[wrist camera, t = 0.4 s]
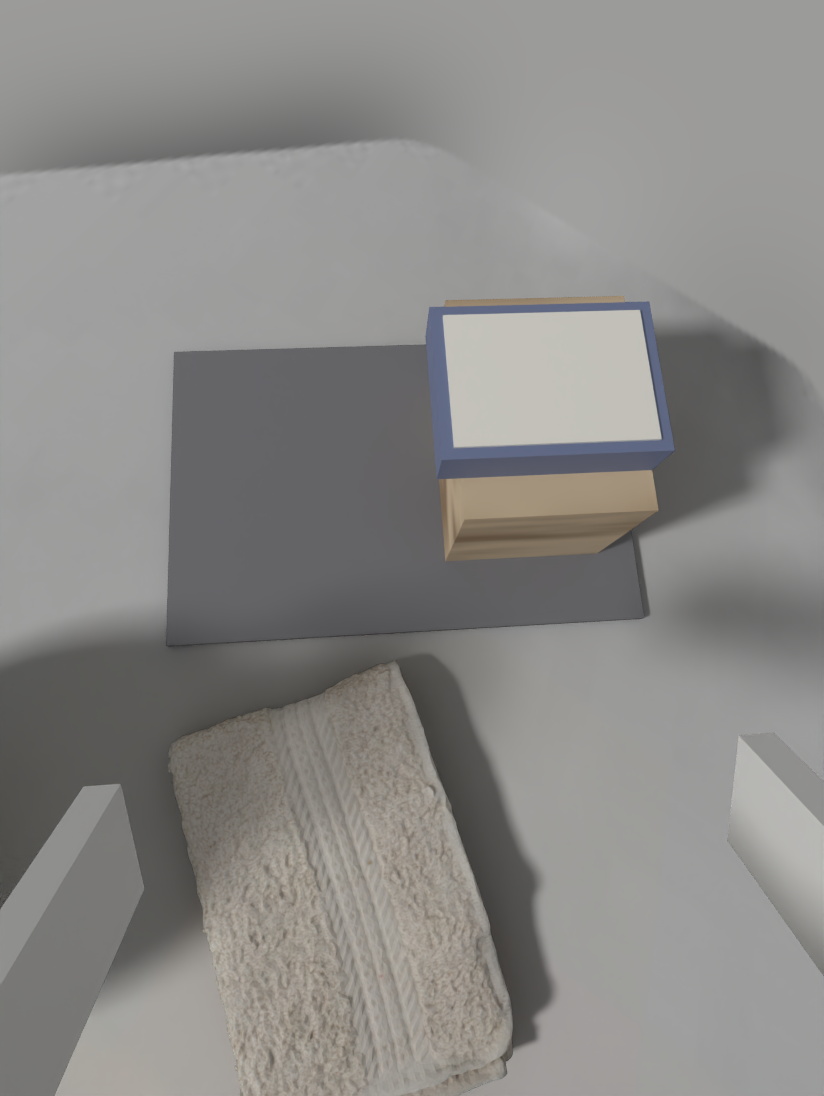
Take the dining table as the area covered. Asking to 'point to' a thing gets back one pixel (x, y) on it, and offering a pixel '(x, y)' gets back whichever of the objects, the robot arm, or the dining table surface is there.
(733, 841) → the robot arm
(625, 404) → the card box
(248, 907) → the washcloth
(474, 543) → the oak block
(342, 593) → the mat
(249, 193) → the dining table surface
